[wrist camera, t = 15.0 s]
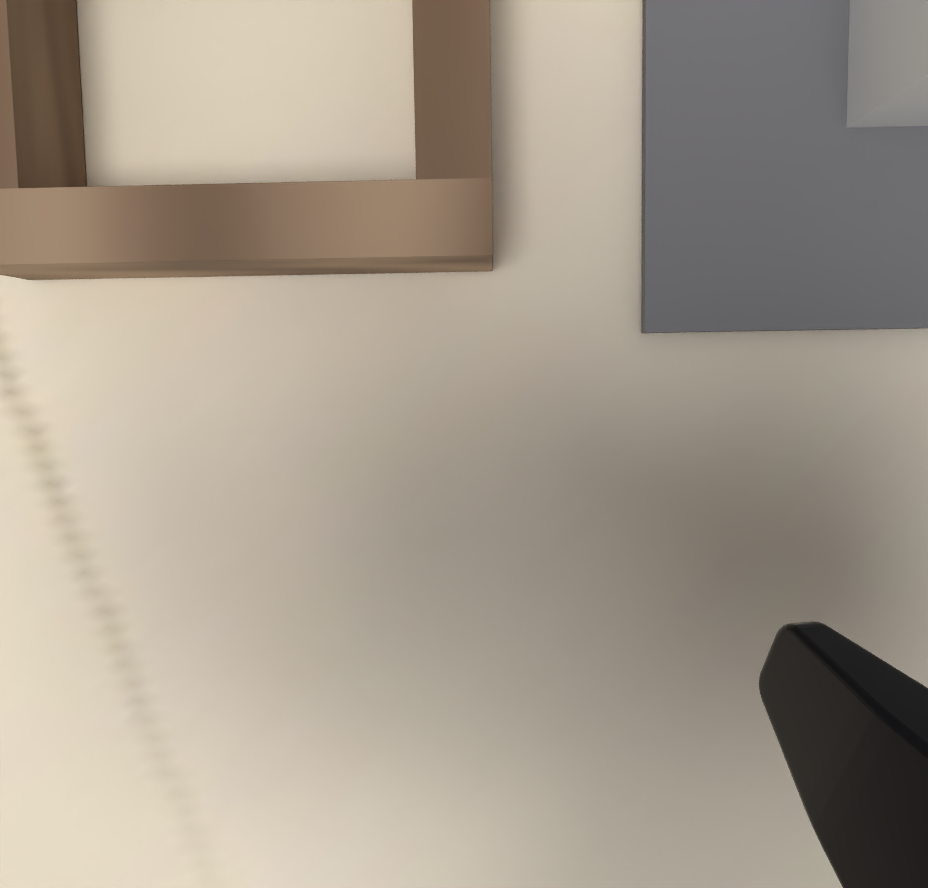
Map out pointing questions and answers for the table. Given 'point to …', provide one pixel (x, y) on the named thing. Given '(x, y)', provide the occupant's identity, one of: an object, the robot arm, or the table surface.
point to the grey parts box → (888, 63)
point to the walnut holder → (242, 204)
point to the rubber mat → (772, 177)
